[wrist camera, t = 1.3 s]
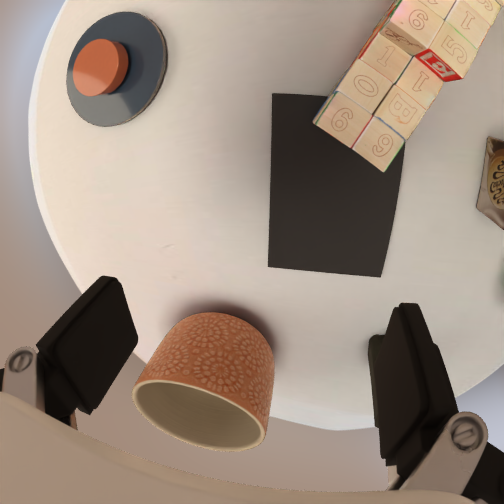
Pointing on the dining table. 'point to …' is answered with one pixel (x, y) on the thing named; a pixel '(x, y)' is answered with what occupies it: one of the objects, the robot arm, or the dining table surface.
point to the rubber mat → (326, 196)
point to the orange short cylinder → (100, 67)
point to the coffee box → (493, 182)
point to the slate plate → (138, 72)
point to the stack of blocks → (403, 73)
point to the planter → (209, 383)
